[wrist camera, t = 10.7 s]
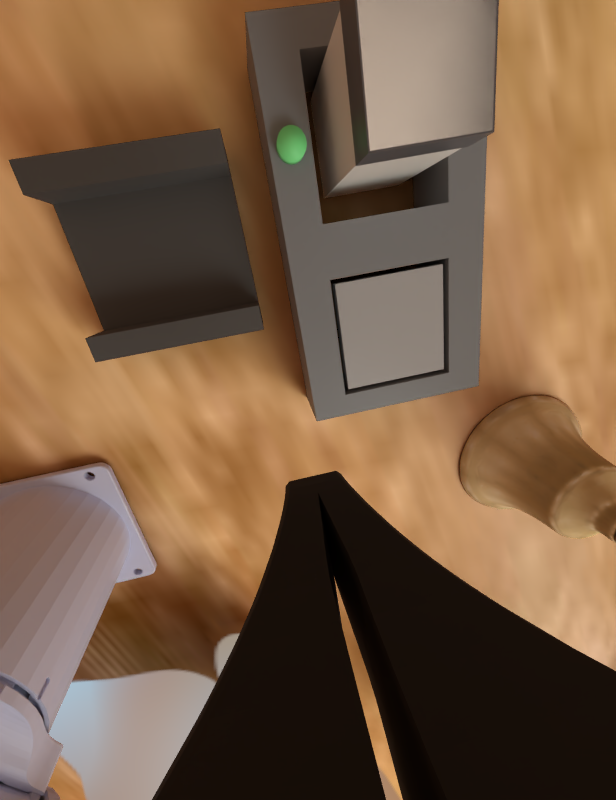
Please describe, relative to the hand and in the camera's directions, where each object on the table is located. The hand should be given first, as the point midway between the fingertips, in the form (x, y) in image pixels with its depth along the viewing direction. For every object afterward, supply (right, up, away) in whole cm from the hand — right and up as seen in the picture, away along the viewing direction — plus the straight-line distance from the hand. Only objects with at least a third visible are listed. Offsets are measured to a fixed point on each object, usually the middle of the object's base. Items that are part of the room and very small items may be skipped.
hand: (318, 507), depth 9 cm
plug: (+2, +14, +6) cm, 15 cm away
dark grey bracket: (-6, +9, +6) cm, 13 cm away
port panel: (+2, +10, +7) cm, 13 cm away
